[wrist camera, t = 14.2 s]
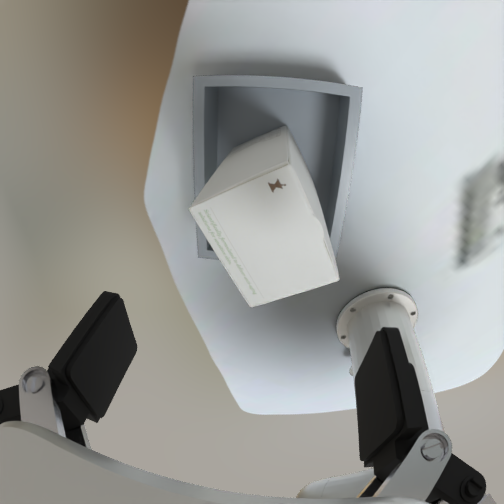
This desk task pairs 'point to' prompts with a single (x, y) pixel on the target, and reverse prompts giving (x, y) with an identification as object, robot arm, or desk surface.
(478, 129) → the desk surface
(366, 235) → the desk surface
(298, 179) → the skincare box
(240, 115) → the tote
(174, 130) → the desk surface
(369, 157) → the desk surface
